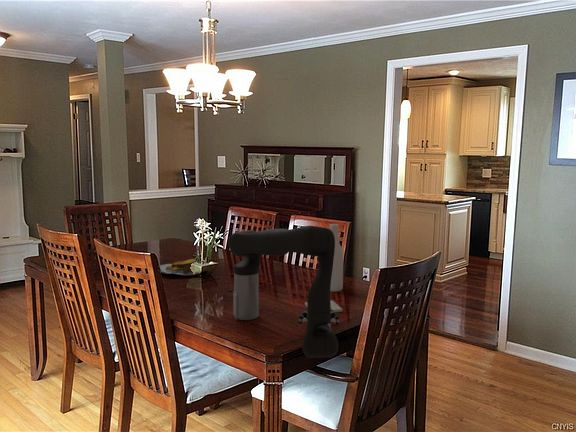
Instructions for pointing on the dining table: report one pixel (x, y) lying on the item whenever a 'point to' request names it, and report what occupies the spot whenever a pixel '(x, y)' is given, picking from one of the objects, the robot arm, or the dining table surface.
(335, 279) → the alcohol
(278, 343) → the dining table surface
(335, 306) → the cream tile
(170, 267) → the food on plate
